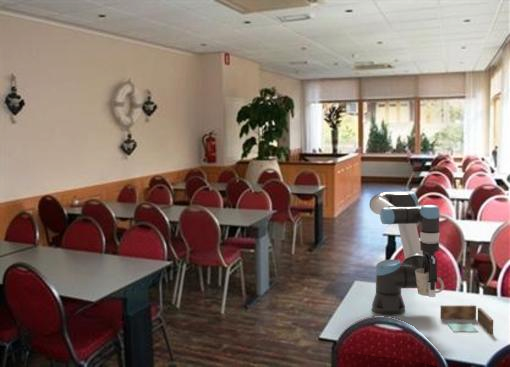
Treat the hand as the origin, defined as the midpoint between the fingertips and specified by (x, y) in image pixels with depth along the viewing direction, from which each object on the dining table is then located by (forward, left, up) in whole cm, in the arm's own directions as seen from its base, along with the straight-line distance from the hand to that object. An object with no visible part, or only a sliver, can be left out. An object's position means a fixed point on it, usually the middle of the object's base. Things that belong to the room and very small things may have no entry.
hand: (429, 293), depth 211 cm
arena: (+15, -1, -14) cm, 21 cm away
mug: (0, -1, -1) cm, 1 cm away
